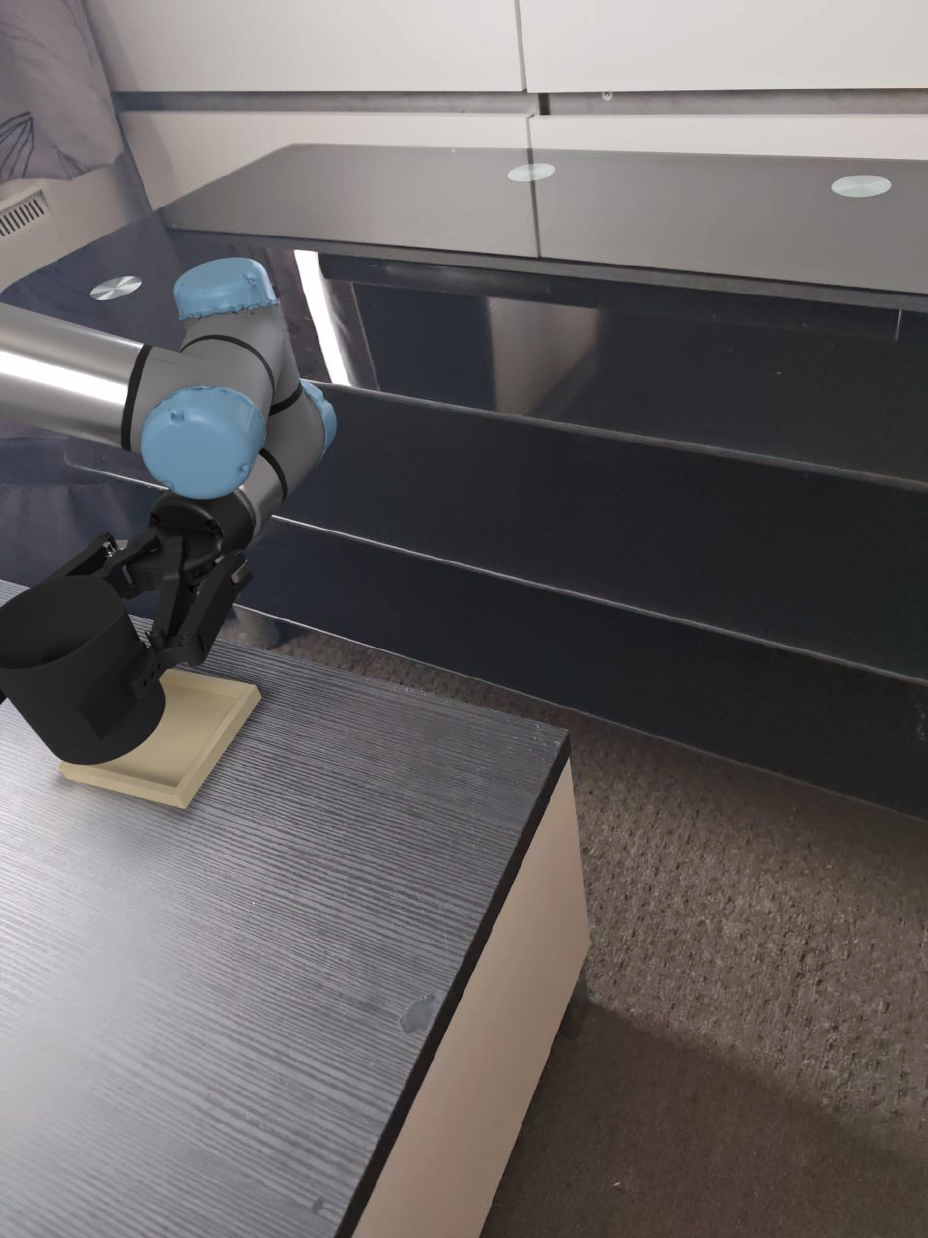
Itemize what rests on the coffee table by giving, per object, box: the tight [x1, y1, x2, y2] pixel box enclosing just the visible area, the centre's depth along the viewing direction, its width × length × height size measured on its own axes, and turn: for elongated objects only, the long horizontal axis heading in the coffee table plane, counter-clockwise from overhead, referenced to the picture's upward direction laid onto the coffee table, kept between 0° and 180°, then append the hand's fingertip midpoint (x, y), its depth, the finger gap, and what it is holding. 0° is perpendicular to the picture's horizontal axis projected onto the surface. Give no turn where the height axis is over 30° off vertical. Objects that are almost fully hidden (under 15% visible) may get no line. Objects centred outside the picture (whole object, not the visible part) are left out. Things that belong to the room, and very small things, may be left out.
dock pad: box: [58, 668, 263, 810], centre depth 81 cm, size 13×13×2 cm
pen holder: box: [0, 575, 166, 765], centre depth 63 cm, size 9×9×10 cm
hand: (30, 712), depth 60 cm, fingers closed on pen holder, 9 cm apart
